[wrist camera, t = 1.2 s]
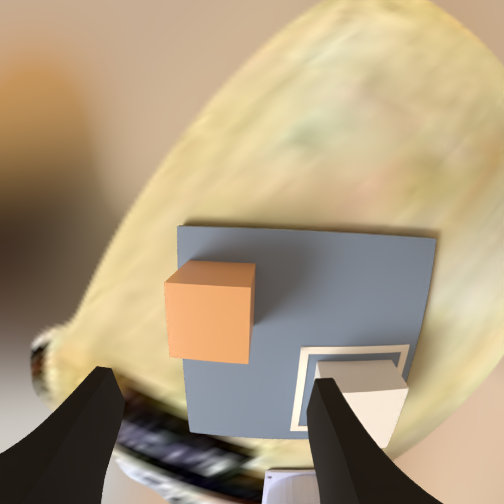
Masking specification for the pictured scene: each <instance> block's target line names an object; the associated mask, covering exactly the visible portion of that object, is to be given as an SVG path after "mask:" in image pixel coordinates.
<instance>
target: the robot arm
mask: <svg viewBox="0 0 504 504" xmlns="http://www.w3.org/2000/svg"><path fill="white" fill-rule="evenodd" d="M124 405H125V400H124V398H123V396H122V393H121V391H120V389H119V386H118V384H117V381H116V379H115V376H114V374H113V371H112V369H111V368H106V367H99V366H97V367H96V368H95V369H94V370H93V371H92V372H91V373H90V374H89V375H88V376H87V377H86V378H85V379H84V380H83V382H82V383H81V384H80V385H79V386H78V387H77V388H76V389H75V390H74V391H73V392H72V394H71V395H70V396H69V397H68V398H67V399H66V400H65V401H64V402H63V403H62V404H61V405H60V406H59V407H58V408H57V409H56V410H55V411H54V412H53V413H52V414H51V415H50V416H49V417H48V418H47V419H46V420H45V421H44V422H43V423H42V424H40V425H39V426H38V427H37V428H36V429H35V430H34V431H32V432H31V433H30V434H28V435H27V436H26V437H25V438H23V439H22V440H21V441H19V442H18V443H16V444H15V445H13V446H12V447H10V448H9V449H7V450H6V451H4V452H3V453H1V454H0V504H101V498H102V492H103V485H104V479H105V475H106V471H107V467H108V464H109V461H110V458H111V454H112V451H113V448H114V445H115V442H116V439H117V435H118V432H119V429H120V426H121V421H122V416H123V411H124ZM306 415H307V428H308V438H309V443H310V448H311V453H312V458H313V463H314V468H315V469H313V470H267V471H266V472H265V481H264V490H263V499H262V504H443V503H441V502H440V501H438V500H437V499H435V498H434V497H433V496H431V495H430V494H428V493H427V492H426V491H424V490H423V489H422V488H421V487H420V486H418V485H417V484H416V483H415V482H414V481H412V480H411V479H410V478H409V477H408V476H407V475H406V474H404V473H403V472H402V471H401V470H400V469H399V468H398V467H397V466H396V465H395V464H394V463H393V462H392V461H391V459H390V458H389V457H388V456H387V455H386V454H385V453H384V452H383V451H382V449H381V448H380V447H379V446H378V445H377V443H376V442H375V441H374V440H373V438H372V437H371V436H370V434H369V433H368V432H367V430H366V429H365V428H364V426H363V425H362V423H361V422H360V420H359V419H358V418H357V416H356V415H355V413H354V412H353V410H352V409H351V407H350V405H349V404H348V402H347V401H346V399H345V397H344V396H343V394H342V392H341V391H340V389H339V387H338V385H337V384H336V382H335V380H334V379H333V378H315V381H314V384H313V388H312V392H311V396H310V399H309V403H308V407H307V410H306Z"/></svg>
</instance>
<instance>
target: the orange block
mask: <svg viewBox="0 0 504 504" xmlns="http://www.w3.org/2000/svg"><path fill="white" fill-rule="evenodd" d="M255 269H256V263H234V262H213V261H193V260H188V261H187V262H186V263H185V264H184V265H183V266H182V267H180V268H179V269H178V270H177V271H176V272H175V273H174V274H173V275H172V276H171V277H170V278H169V279H167V280H166V281H165V282H164V286H165V304H166V318H167V331H168V343H169V354H170V357H175V358H183V359H193V360H202V361H213V362H225V363H239V364H248V363H249V356H250V349H251V341H252V334H253V326H254V298H255Z"/></svg>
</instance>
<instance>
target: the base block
mask: <svg viewBox="0 0 504 504" xmlns="http://www.w3.org/2000/svg"><path fill="white" fill-rule="evenodd" d="M315 378H333V379H334V380H335V382H336V384H337V385H338V387H339V389H340V391H341V392H342V394H343V396H344V397H345V399H346V401H347V402H348V404H349V405H350V407H351V409H352V410H353V412H354V413H355V415H356V416H357V418H358V419H359V420H360V422H361V423H362V425H363V426H364V428H365V429H366V430H367V432H368V433H369V434H370V436H371V437H372V438H373V440H374V441H375V442H376V443H377V445H378V446H379V447H380V448H385V447H387V445H388V443H389V440H390V438H391V436H392V433H393V431H394V428H395V426H396V423H397V421H398V418H399V415H400V413H401V410H402V407H403V404H404V402H405V399H406V396H407V393H408V390H409V387H408V386H407V384H406V382H405V381H404V379H403V378H402V376H401V374H400V373H399V371H398V369H397V368H396V366H395V365H394V363H393V361H392V360H371V361H317V364H316V370H315V377H314V381H315ZM313 384H314V383H313Z"/></svg>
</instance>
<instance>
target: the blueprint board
mask: <svg viewBox="0 0 504 504" xmlns="http://www.w3.org/2000/svg"><path fill="white" fill-rule="evenodd" d="M435 246H436V239H435V238H430V237H416V236H402V235H386V234H370V233H353V232H335V231H316V230H296V229H273V228H248V227H219V226H185V225H179V226H177V254H178V269H179V268H180V267H182V266H183V265H184V264H185V263H186V262H187V261H188V260H193V261H213V262H234V263H256V269H255V298H254V326H253V334H252V341H251V349H250V356H249V363H248V364H239V363H225V362H213V361H202V360H193V359H183V369H184V380H185V391H186V400H187V410H188V418H189V427H190V432H196V433H204V434H212V435H221V436H232V437H245V438H263V439H309V438H308V428H307V415H306V410H307V407H308V403H309V399H310V396H311V392H312V388H313V383H314V377H315V370H316V364H317V361H371V360H392V361H393V363H394V365H395V366H396V368H397V369H398V371H399V373H400V374H401V376H402V378H403V379H404V381H405V382H406V381H407V378H408V374H409V371H410V367H411V364H412V360H413V357H414V353H415V349H416V346H417V342H418V338H419V334H420V330H421V325H422V321H423V316H424V312H425V307H426V302H427V297H428V291H429V286H430V280H431V274H432V268H433V261H434V254H435Z"/></svg>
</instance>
